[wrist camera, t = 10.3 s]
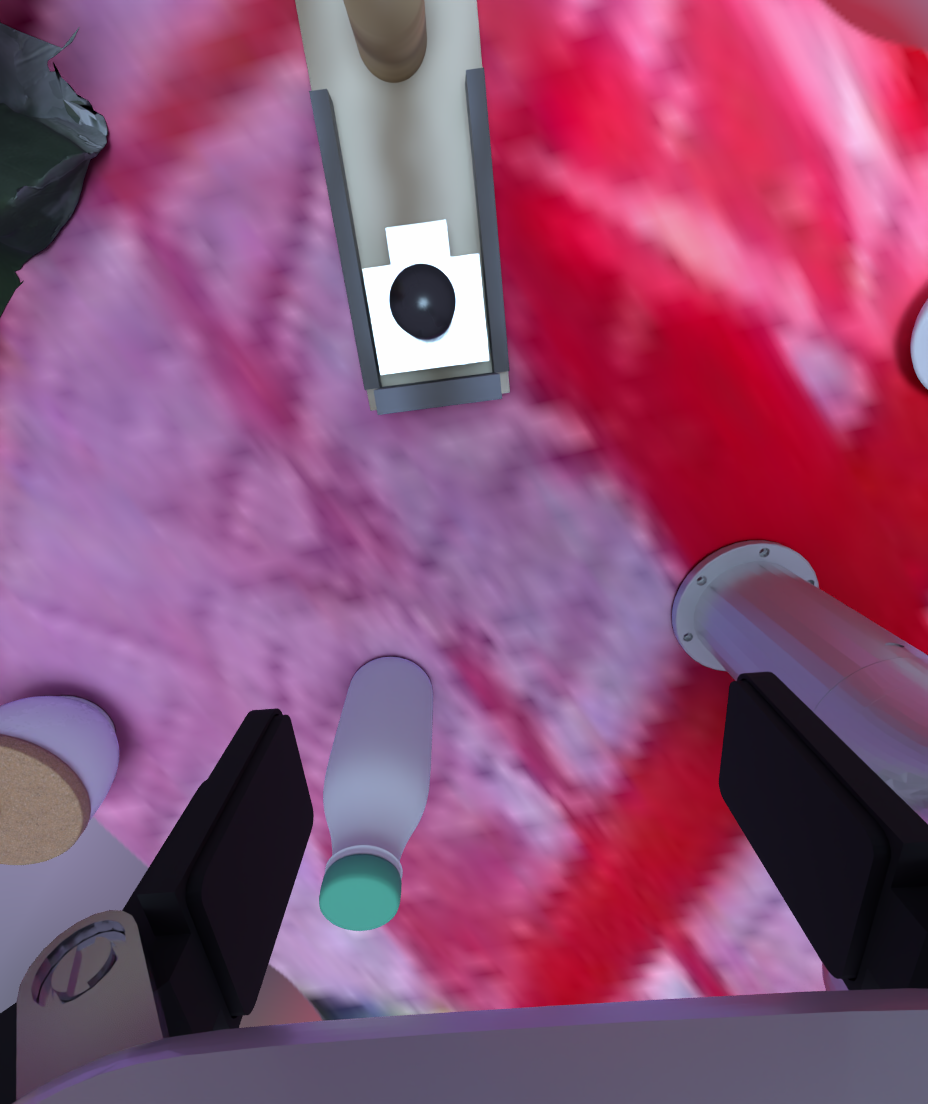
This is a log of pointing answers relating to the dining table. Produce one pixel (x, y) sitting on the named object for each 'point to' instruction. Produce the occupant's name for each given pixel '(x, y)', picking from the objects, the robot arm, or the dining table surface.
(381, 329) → the ram
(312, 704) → the dining table surface
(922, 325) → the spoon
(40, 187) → the rose bouquet
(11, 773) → the lidded bowl
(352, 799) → the milk bottle
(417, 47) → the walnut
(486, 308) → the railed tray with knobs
